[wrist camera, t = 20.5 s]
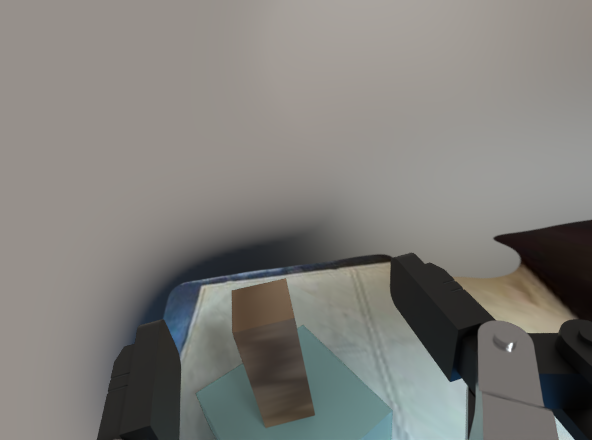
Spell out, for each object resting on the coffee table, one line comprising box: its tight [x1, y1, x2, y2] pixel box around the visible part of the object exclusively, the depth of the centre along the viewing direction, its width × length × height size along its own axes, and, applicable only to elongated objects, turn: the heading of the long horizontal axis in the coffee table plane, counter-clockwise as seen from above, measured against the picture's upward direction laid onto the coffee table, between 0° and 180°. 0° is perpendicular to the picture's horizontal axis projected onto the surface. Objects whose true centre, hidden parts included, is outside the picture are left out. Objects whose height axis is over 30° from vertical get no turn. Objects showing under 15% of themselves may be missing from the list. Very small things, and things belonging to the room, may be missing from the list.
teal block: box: [196, 325, 393, 440], centre depth 34 cm, size 13×13×5 cm
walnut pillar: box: [232, 278, 315, 428], centre depth 30 cm, size 4×4×12 cm
